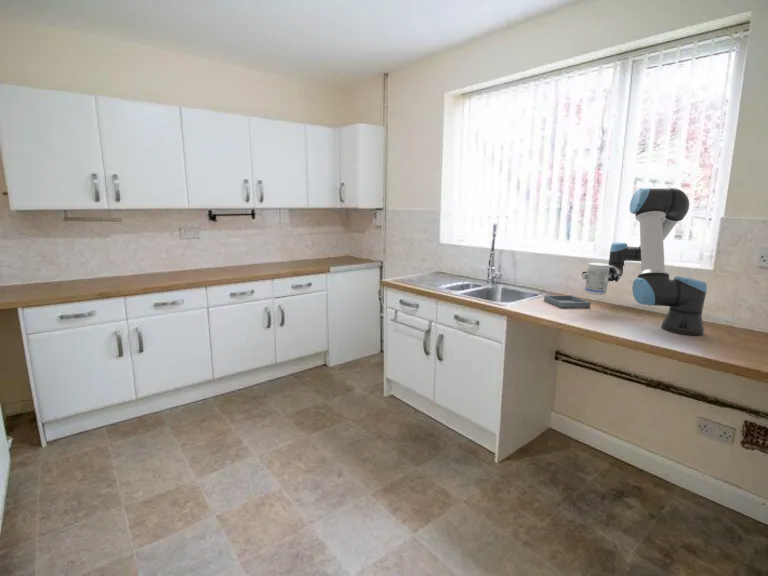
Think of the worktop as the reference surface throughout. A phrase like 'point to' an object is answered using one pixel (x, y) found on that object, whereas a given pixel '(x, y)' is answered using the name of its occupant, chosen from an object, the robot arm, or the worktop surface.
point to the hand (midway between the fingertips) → (594, 278)
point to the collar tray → (567, 301)
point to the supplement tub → (596, 278)
